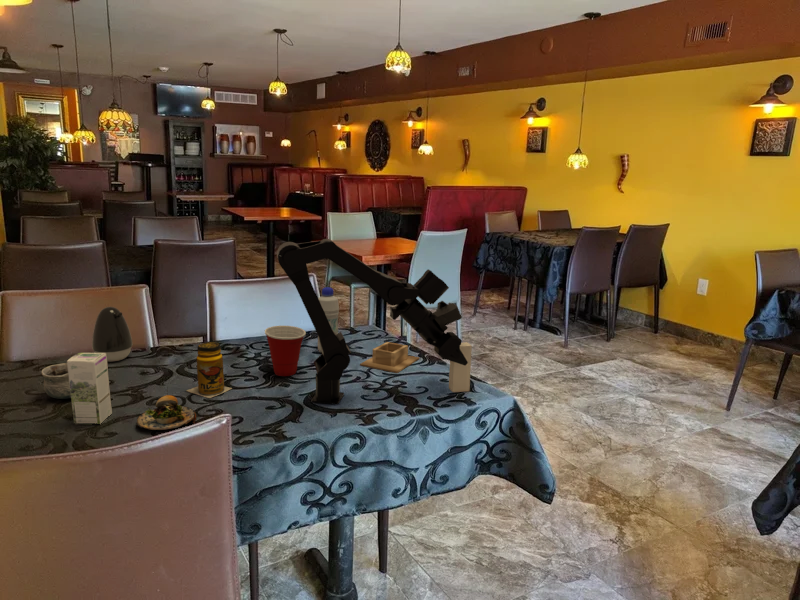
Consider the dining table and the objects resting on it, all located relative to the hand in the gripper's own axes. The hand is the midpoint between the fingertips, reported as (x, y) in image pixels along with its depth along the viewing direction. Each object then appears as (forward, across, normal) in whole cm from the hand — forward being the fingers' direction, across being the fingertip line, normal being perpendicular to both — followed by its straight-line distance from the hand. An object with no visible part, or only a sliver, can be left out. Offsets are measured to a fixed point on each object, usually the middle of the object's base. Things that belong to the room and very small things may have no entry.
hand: (460, 358), depth 144 cm
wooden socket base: (-3, +24, +15) cm, 28 cm away
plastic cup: (-24, +20, +36) cm, 48 cm away
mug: (-59, +13, +71) cm, 93 cm away
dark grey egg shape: (-58, +40, +69) cm, 98 cm away
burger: (-43, -7, +55) cm, 70 cm away
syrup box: (-54, -2, +65) cm, 85 cm away
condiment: (-38, +11, +49) cm, 63 cm away
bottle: (-15, +36, +26) cm, 47 cm away
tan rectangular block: (+6, 0, +6) cm, 8 cm away
